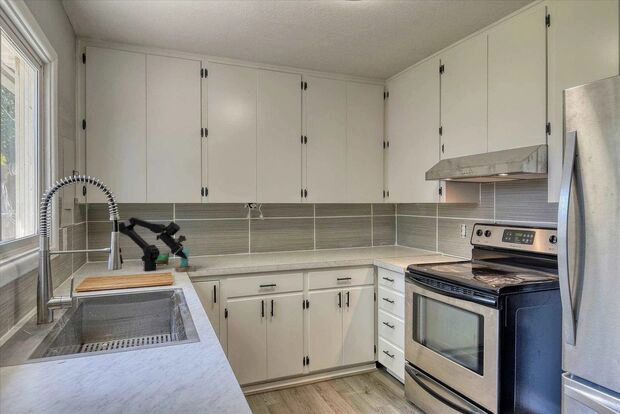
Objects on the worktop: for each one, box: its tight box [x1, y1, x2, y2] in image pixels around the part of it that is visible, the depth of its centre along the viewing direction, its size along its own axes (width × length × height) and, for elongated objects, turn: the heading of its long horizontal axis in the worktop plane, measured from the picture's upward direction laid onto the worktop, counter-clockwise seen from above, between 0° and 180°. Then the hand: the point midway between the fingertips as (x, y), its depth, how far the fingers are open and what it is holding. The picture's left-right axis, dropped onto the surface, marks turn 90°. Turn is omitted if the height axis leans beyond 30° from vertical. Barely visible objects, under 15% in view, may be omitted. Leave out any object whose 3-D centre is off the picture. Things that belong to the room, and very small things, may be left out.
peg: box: [180, 249, 190, 268], centre depth 237 cm, size 4×4×13 cm
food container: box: [156, 249, 171, 265], centre depth 263 cm, size 12×6×10 cm, turn 105°
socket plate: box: [174, 265, 195, 273], centre depth 237 cm, size 9×9×2 cm
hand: (186, 257), depth 238 cm, fingers open, 6 cm apart
